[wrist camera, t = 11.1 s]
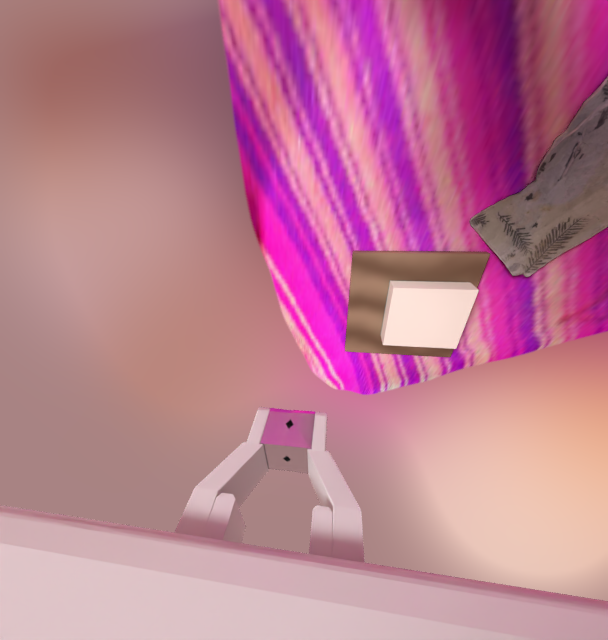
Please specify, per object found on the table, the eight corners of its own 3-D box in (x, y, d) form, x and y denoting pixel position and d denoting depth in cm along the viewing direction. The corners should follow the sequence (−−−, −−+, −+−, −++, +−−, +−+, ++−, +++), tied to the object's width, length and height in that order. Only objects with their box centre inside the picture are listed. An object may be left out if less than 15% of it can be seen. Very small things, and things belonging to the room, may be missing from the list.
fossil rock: (512, 279, 35) (522, 286, 33) (453, 203, 31) (460, 206, 29) (680, 174, 27) (707, 174, 25) (629, 51, 23) (656, 40, 21)
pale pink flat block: (393, 287, 33) (479, 290, 32) (389, 279, 36) (469, 281, 34) (382, 345, 39) (455, 348, 37) (380, 334, 41) (449, 338, 40)
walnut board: (352, 250, 35) (353, 252, 34) (486, 251, 33) (490, 254, 32) (344, 347, 45) (345, 351, 44) (448, 353, 43) (450, 357, 42)
